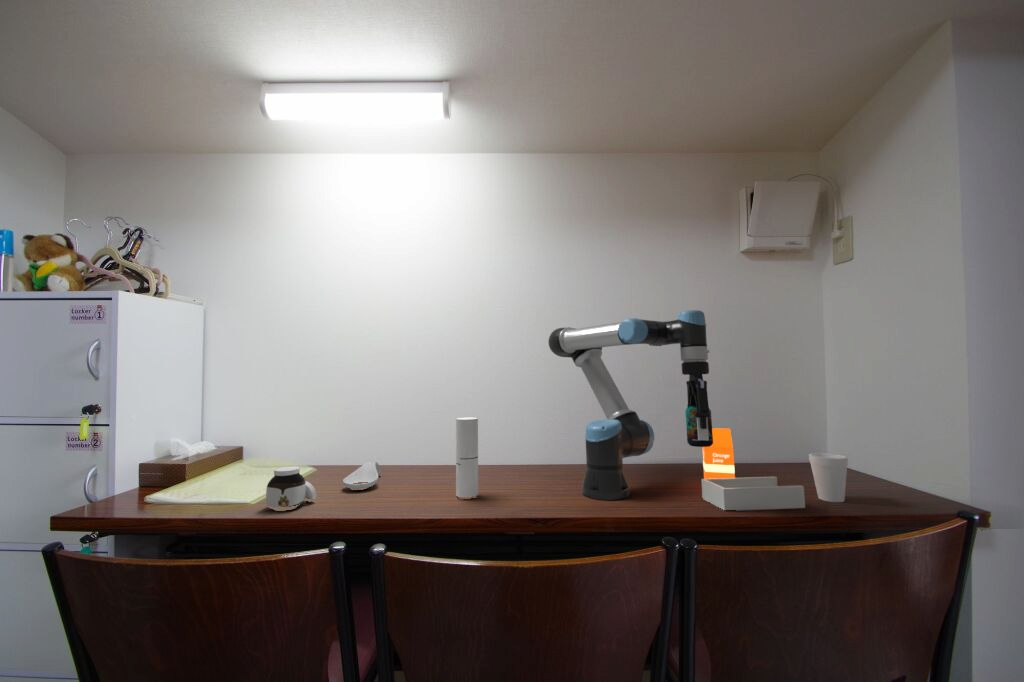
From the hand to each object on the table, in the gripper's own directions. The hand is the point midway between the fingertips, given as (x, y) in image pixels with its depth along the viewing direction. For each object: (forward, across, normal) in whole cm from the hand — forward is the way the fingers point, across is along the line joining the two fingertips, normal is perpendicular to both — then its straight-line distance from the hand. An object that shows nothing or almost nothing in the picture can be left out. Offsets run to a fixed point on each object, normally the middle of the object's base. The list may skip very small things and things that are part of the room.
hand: (699, 438), depth 125 cm
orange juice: (+20, +21, -10) cm, 30 cm away
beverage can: (+2, 0, 0) cm, 2 cm away
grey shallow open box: (+20, +4, -14) cm, 25 cm away
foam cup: (+20, +12, -39) cm, 46 cm away
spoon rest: (+18, +11, +114) cm, 116 cm away
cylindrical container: (+19, 0, +72) cm, 75 cm away
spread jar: (+18, -16, +123) cm, 125 cm away
